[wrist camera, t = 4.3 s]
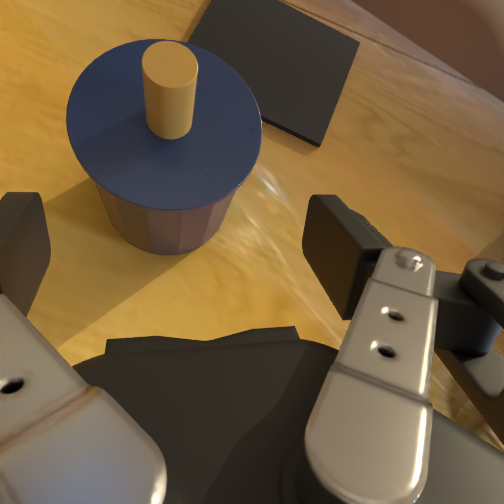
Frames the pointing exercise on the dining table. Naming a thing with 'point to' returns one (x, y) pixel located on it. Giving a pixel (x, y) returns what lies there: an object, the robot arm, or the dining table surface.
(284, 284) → the dining table surface
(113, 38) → the dining table surface
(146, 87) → the lid
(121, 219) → the canister
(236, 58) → the mat
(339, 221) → the robot arm
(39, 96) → the dining table surface
